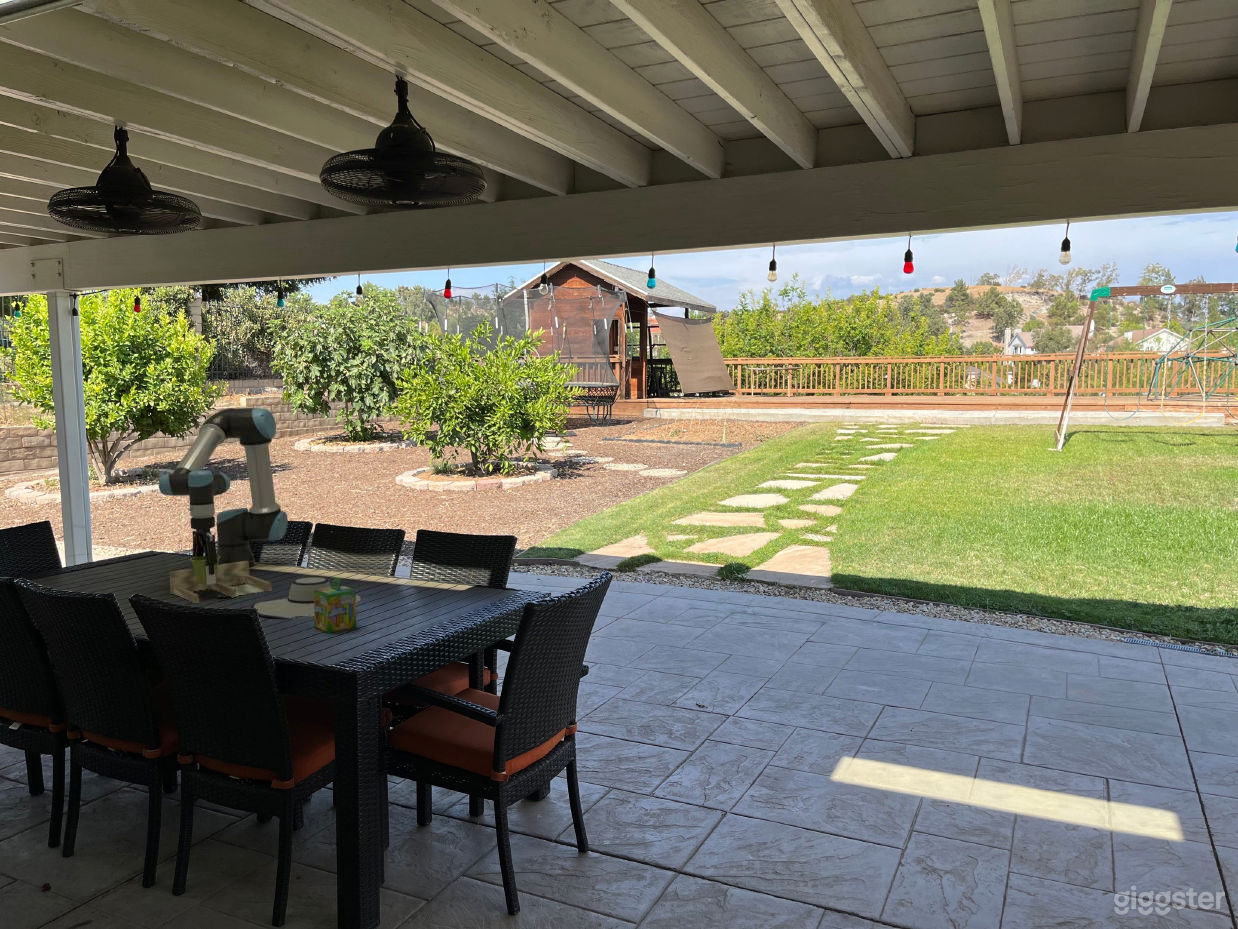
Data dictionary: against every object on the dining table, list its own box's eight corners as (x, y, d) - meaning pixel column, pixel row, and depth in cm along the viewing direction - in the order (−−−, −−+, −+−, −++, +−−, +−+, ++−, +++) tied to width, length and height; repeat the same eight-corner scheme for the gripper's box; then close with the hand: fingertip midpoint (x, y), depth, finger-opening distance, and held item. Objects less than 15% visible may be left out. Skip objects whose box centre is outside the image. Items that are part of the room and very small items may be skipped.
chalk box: (313, 627, 255) (312, 578, 254) (342, 622, 261) (341, 573, 260) (328, 634, 248) (326, 583, 247) (357, 627, 255) (356, 578, 254)
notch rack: (248, 582, 318) (247, 560, 317) (273, 591, 303) (272, 568, 303) (170, 594, 299) (169, 572, 298) (193, 604, 284) (192, 580, 283)
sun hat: (255, 627, 259) (254, 597, 258) (247, 602, 291) (246, 575, 290) (378, 612, 275) (377, 584, 274) (357, 590, 307) (356, 564, 306)
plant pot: (190, 586, 290) (188, 561, 289) (192, 580, 298) (191, 556, 297) (220, 584, 293) (219, 559, 292) (222, 578, 302) (220, 553, 301)
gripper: (179, 514, 298) (183, 578, 300) (202, 521, 283) (206, 588, 286) (202, 512, 303) (205, 575, 306) (226, 518, 289) (229, 584, 291)
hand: (206, 581), depth 296 cm, fingers closed on plant pot, 8 cm apart
